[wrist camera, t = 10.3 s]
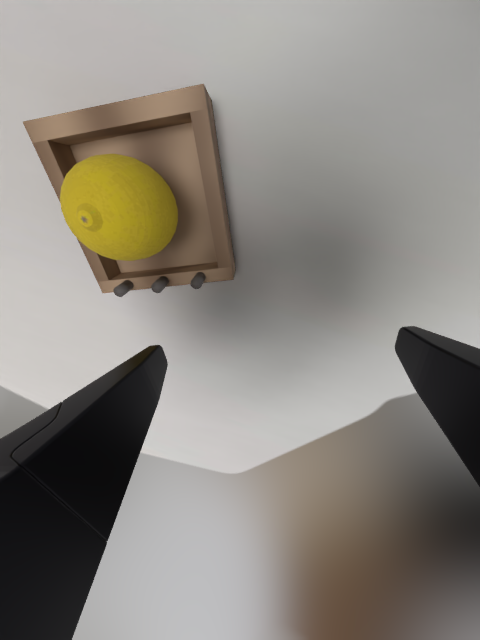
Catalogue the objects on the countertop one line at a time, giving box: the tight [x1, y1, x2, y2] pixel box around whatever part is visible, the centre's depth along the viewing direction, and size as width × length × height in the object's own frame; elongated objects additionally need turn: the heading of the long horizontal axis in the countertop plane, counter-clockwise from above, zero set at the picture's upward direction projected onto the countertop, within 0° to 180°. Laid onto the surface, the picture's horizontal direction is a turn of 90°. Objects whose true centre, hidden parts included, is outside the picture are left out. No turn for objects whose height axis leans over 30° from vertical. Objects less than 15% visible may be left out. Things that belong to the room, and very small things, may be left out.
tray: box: [23, 84, 236, 297], centre depth 16 cm, size 11×11×4 cm
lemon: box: [60, 154, 178, 261], centre depth 13 cm, size 6×6×8 cm
